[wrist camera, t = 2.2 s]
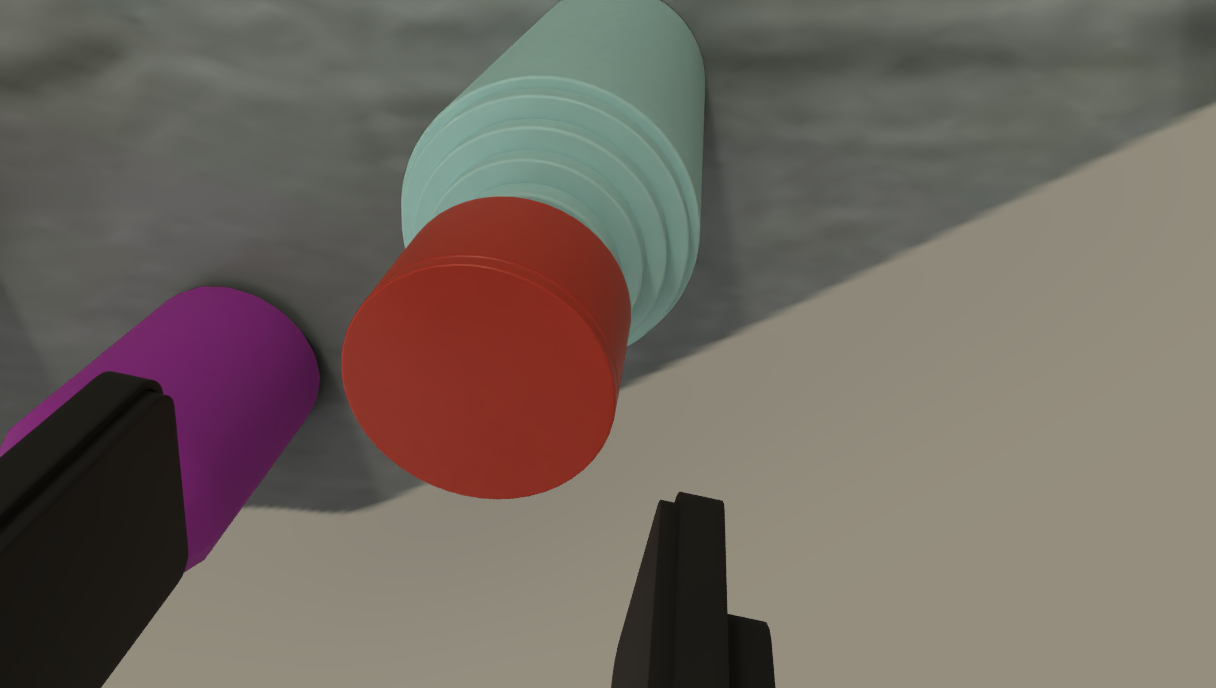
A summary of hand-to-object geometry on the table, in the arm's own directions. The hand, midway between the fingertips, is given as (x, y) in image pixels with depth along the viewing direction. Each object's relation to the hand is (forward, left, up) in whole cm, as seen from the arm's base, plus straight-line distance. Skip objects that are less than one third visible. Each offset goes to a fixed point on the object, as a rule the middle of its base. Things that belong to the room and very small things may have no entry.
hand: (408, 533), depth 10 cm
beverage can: (+15, -14, -23) cm, 31 cm away
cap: (0, 0, -6) cm, 6 cm away
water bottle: (0, 0, -23) cm, 23 cm away
